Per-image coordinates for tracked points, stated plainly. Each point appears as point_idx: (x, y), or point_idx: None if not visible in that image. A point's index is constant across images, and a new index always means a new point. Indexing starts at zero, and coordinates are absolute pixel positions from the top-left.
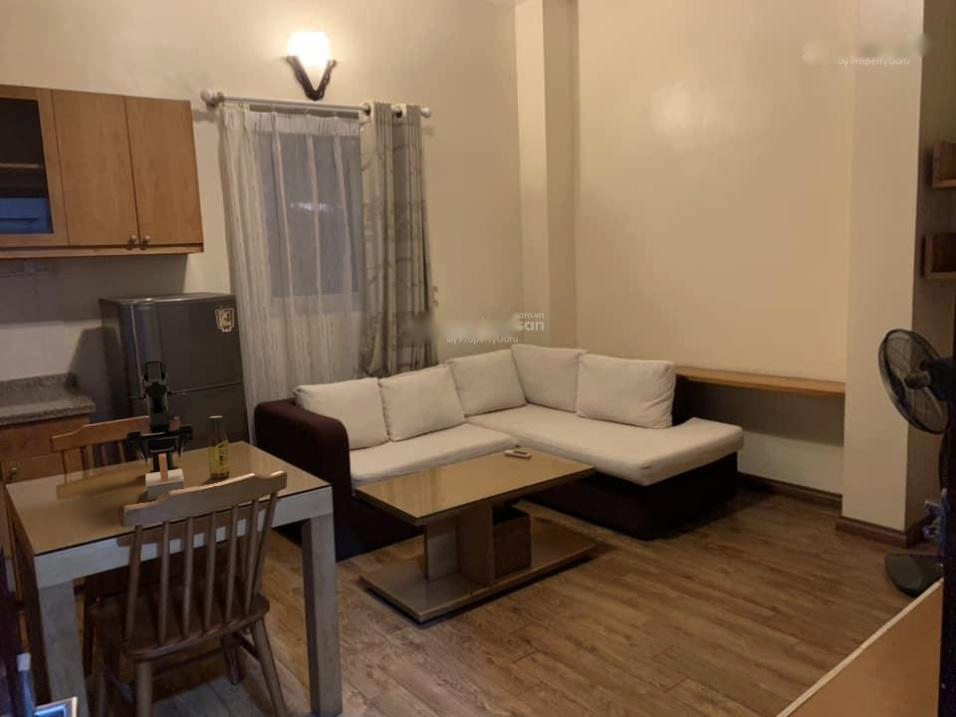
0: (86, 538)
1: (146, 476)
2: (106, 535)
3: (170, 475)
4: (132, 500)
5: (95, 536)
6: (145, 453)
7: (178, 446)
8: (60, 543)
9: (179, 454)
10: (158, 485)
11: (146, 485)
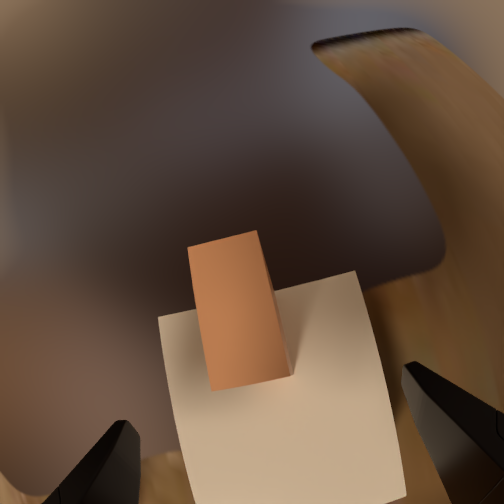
0: (379, 49)
1: (394, 444)
2: (342, 50)
3: (245, 422)
4: (411, 324)
5: (365, 51)
6: (443, 403)
7: (87, 487)
8: (417, 46)
9: (114, 427)
10: None
11: (351, 273)
